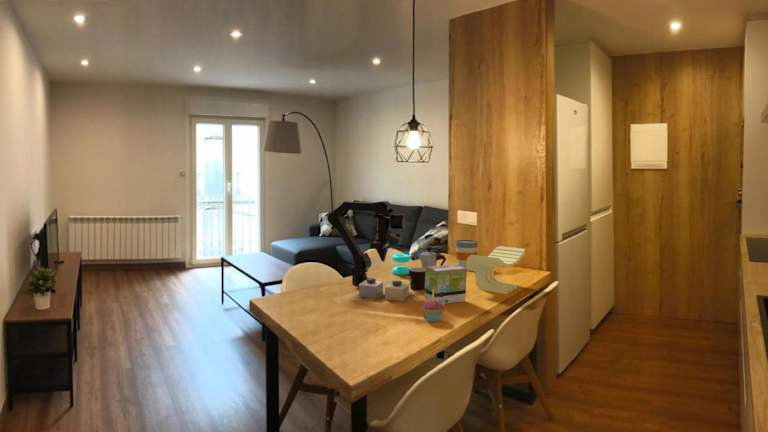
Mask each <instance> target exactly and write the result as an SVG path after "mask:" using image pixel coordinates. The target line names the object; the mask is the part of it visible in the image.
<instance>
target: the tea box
mask: <svg viewBox="0 0 768 432" xmlns="http://www.w3.org/2000/svg"><path fill="white" fill-rule="evenodd" d="M467 272H468V270H467V269H466V268H463V267H460V266H458V264H457V265H456V264H455V263H454V264H446V265H444V264H443V265H442V266H440V265H436V266H431V267H426V272H425V289H424V297H423V298H424V299H425V300H427V301H432V290H434V301H437V302H440V303H441V304H443V305H445V304H455V303H463V302H464V301H466V294H467V292H466V291H467V275H468V274H467Z"/></svg>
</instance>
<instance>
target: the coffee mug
mask: <svg viewBox="0 0 768 432" xmlns="http://www.w3.org/2000/svg"><path fill="white" fill-rule="evenodd" d="M408 268H409V274H408V278H409V286H410V287H409V289H410V290H411V291H425V272H426V269H425V268H423V267H417V266H416V267H408Z"/></svg>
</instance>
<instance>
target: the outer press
mask: <svg viewBox="0 0 768 432" xmlns="http://www.w3.org/2000/svg"><path fill="white" fill-rule="evenodd" d="M392 282H393V281H392ZM392 282H390V283H388V284H386V285H385V286H384V292H385V299H387V300H396V301H404V300H405V299H406V298H407V297H409V295H410V294H409V293H410V291H409V289H410V287H409V286H410V283H403V282H402V285H400V286H395V285H392Z"/></svg>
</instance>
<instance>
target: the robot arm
mask: <svg viewBox="0 0 768 432" xmlns="http://www.w3.org/2000/svg"><path fill="white" fill-rule="evenodd" d="M350 210H351V211H367V212H372V213H375V214H374V216H372V218H373V219H376V221H377V222H376V223H377V224H376V225H377V226H376V230H375V233H376V236H377V237H376V239H375V241H373V242H370V244H369V249H371V250H376V252H377V253H378V256H379V258H380V260H381V262H385V261H386V257H387V253H388V250H389V249H390V248H392V245H394V246H399V245H400V244H401V242H402V241H403V237H402V234H401V233H400V232H398V233H396V234H395V233H392V230H391V229H393V230H405V229H406V227H407V219H406V217H405V214H404V213H401V214H398V213H397V214H396V212H395V211H394V210H393V208H392V205H391V203H390V202H389V201H387V200H381V201H375V202H368V201H367V202H366V201H365V202H364V201H350V200H346V201H343V202H342V203H341V204H340V205H339V206H337V207H336V208H335V209H334V210H333V211H331V212H329V213H328V215H327V218H326V219H327V221H328V223H329V224H330V225H331V226H332V228H334V229H335V230H336V231H337V232H338V233H339V235H340V237H341V239H342V240H343V242H344V244H345V246H346V247H347V249H348V250H349V253H350V255H352V263H353V265H354V266H353V267H352V268H351V269H350V274H351V275H352V276H351V279H352V281H351V284H352V285H354V286H358V287H359V284H360V283H362V282H363V281H365V280H367V279H368V278H369V277H368V276H367V275H368V273H367V272H368V271H369V269H370V268H371V266H372V258H371V257H370V256H369V254H368V252H365V253H364V251H362V250H361V249H360V246H359V245H358V244H357V242H356V240H355V238H354V237H353V235H352V233H351V231H350V229H349V228H348V226H347V220H346V217H345V216H346V215H348V213H349V211H350ZM390 228H391V229H390ZM389 244H392V245H389Z"/></svg>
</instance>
